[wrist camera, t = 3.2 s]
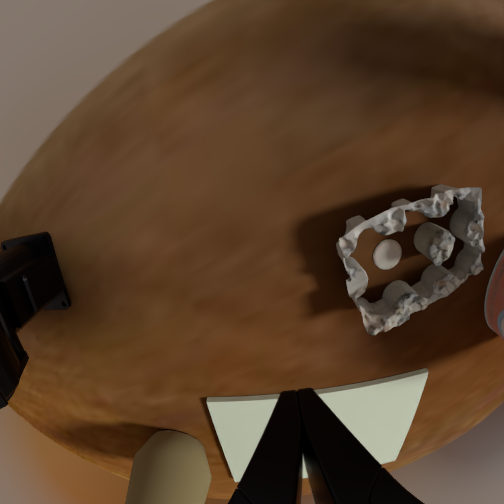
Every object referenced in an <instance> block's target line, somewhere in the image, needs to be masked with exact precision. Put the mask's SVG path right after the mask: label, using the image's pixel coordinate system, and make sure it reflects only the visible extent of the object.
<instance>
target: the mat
mask: <svg viewBox="0 0 504 504" xmlns="http://www.w3.org/2000/svg"><path fill="white" fill-rule="evenodd" d="M428 373H429V371H428V370H427V368H424V369H420V370H416V371H412V372H408V373H404V374H400V375H395V376H391V377H386V378H382V379H377V380H372V381H367V382H361V383H356V384H350V385H344V386H338V387H331V388H325V389H317V390H314V391H315V392H316V393H317V394H318V395H319V397H320V398H321V399H322V400H323V401H324V402H325V403H326V405H327V406H328V407H329V408H330V409H331V410H332V411H333V412H334V414H335V415H336V416H337V417H338V418H339V419H340V420H341V421H342V423H343V424H344V425H345V426H346V427H347V428H348V429H349V430H350V432H351V433H352V434H353V435H354V436H355V437H356V438H357V439H358V440H359V441H360V443H361V444H362V445H363V446H364V447H365V448H366V449H367V450H368V451H369V452H370V453H371V454H372V456H373V457H374V458H375V459H376V460H377V461H378V462H379V463H380V464H383V463H387V462H391V461H395V460H396V458H397V456H398V454H399V451H400V449H401V447H402V445H403V442H404V440H405V437H406V435H407V433H408V430H409V428H410V425H411V423H412V420H413V417H414V415H415V412H416V409H417V406H418V404H419V401H420V398H421V395H422V392H423V389H424V386H425V383H426V379H427V376H428ZM279 395H280V394H270V395H256V396H236V397H207V405H208V408H209V411H210V415H211V418H212V420H213V423H214V426H215V429H216V432H217V435H218V438H219V441H220V443H221V446H222V449H223V452H224V454H225V457H226V460H227V463H228V465H229V468H230V470H231V473H232V476H233V478H234V481H235V482H240V480H241V478H242V476H243V474H244V472H245V470H246V468H247V466H248V464H249V462H250V460H251V457H252V455H253V453H254V451H255V449H256V447H257V445H258V443H259V441H260V438H261V436H262V434H263V432H264V430H265V427H266V425H267V423H268V421H269V418H270V416H271V414H272V412H273V409H274V407H275V405H276V402H277V400H278V398H279ZM303 478H308V475H307V471H306V468H305V463H304V458H303Z"/></svg>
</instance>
